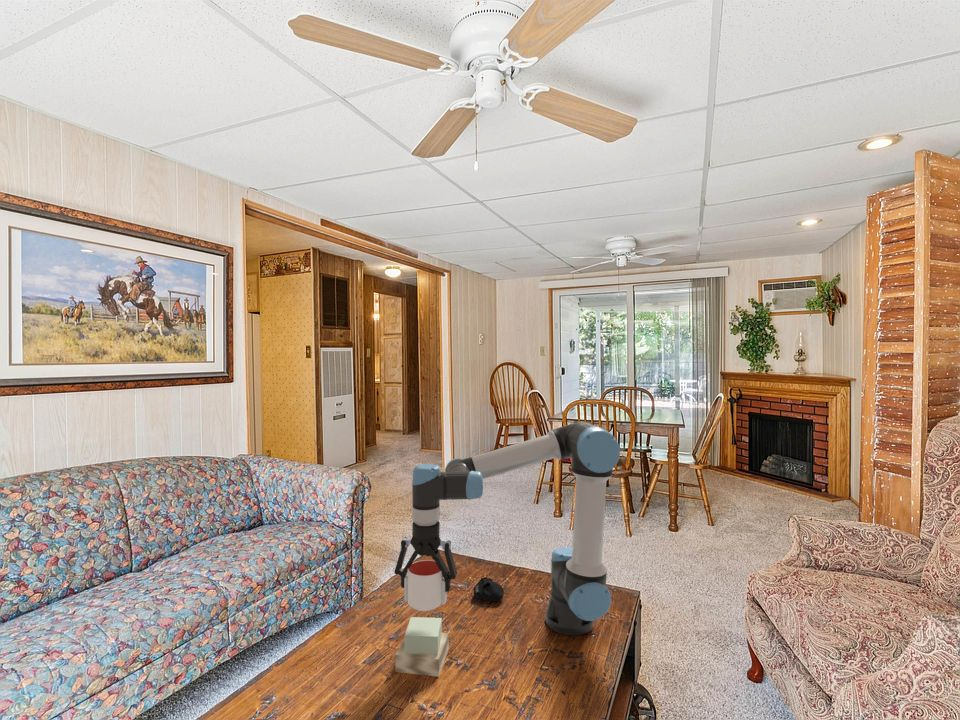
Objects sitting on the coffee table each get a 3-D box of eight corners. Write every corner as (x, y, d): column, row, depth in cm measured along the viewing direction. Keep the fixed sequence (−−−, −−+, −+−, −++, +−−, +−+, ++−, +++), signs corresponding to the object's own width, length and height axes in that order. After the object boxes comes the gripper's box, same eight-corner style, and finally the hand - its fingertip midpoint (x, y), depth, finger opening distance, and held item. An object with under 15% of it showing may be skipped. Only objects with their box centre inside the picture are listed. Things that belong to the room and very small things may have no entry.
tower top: (441, 635, 139) (441, 618, 139) (437, 655, 130) (437, 636, 130) (410, 634, 139) (410, 617, 139) (404, 653, 130) (404, 635, 130)
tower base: (448, 650, 140) (448, 633, 140) (438, 678, 128) (438, 659, 128) (408, 646, 142) (408, 629, 142) (395, 673, 130) (395, 654, 130)
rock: (485, 610, 172) (510, 602, 169) (472, 605, 165) (498, 597, 162) (482, 582, 178) (506, 575, 175) (468, 577, 171) (493, 569, 168)
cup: (437, 615, 129) (437, 577, 128) (402, 610, 131) (402, 574, 130) (447, 596, 138) (447, 561, 138) (414, 592, 140) (414, 558, 140)
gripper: (468, 519, 136) (468, 597, 136) (391, 514, 140) (391, 590, 140) (463, 528, 129) (462, 611, 129) (382, 523, 132) (382, 603, 133)
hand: (425, 600), depth 135 cm, fingers closed on cup, 10 cm apart
